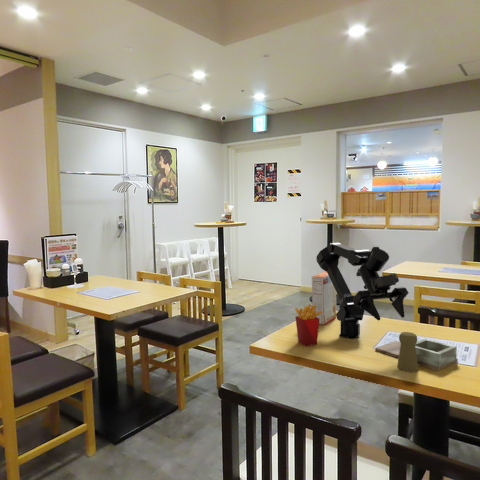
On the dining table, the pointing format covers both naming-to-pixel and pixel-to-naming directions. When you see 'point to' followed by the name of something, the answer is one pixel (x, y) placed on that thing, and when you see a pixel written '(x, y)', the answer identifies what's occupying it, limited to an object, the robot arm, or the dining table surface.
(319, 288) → the cracker box
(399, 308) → the robot arm
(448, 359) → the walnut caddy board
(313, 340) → the french fries
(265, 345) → the dining table surface
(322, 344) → the dining table surface
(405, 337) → the cork
